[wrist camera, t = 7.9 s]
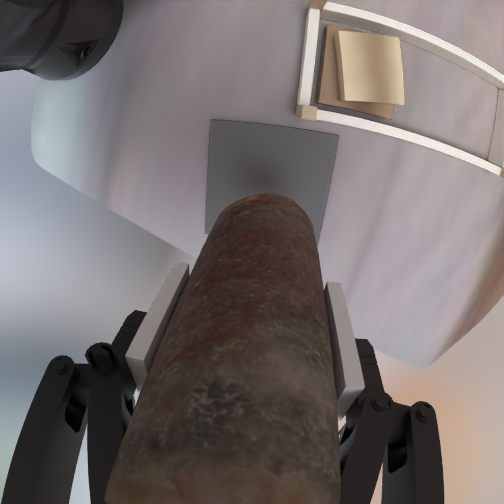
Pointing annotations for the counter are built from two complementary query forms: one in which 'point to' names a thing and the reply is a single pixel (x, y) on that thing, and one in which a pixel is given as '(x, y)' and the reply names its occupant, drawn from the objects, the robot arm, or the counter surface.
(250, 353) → the rusty brown cylinder
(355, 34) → the offcut upper
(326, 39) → the offcut lower
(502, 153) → the rack
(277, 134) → the mat
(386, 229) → the counter surface
